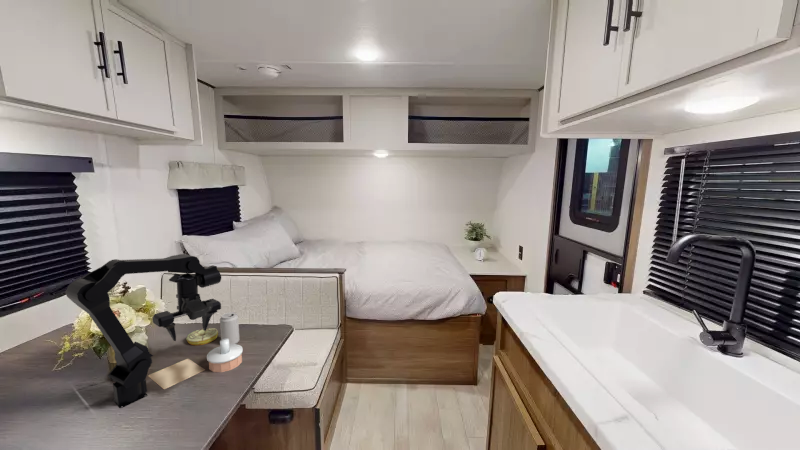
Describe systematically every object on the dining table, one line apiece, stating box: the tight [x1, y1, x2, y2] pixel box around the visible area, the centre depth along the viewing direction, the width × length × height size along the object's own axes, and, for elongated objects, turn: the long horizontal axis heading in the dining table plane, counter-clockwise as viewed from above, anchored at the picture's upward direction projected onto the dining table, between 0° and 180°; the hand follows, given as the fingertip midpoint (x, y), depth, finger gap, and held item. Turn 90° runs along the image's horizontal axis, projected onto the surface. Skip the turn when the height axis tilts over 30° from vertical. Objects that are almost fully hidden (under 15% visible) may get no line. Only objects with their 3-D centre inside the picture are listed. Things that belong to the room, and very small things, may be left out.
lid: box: [206, 339, 244, 363], centre depth 109 cm, size 11×11×5 cm
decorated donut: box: [185, 327, 219, 346], centre depth 125 cm, size 10×11×4 cm
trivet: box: [147, 358, 206, 390], centre depth 104 cm, size 12×12×1 cm
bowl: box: [208, 353, 243, 373], centre depth 109 cm, size 10×10×4 cm
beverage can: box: [219, 311, 240, 345], centre depth 123 cm, size 6×6×12 cm
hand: (190, 335), depth 106 cm, fingers open, 9 cm apart
